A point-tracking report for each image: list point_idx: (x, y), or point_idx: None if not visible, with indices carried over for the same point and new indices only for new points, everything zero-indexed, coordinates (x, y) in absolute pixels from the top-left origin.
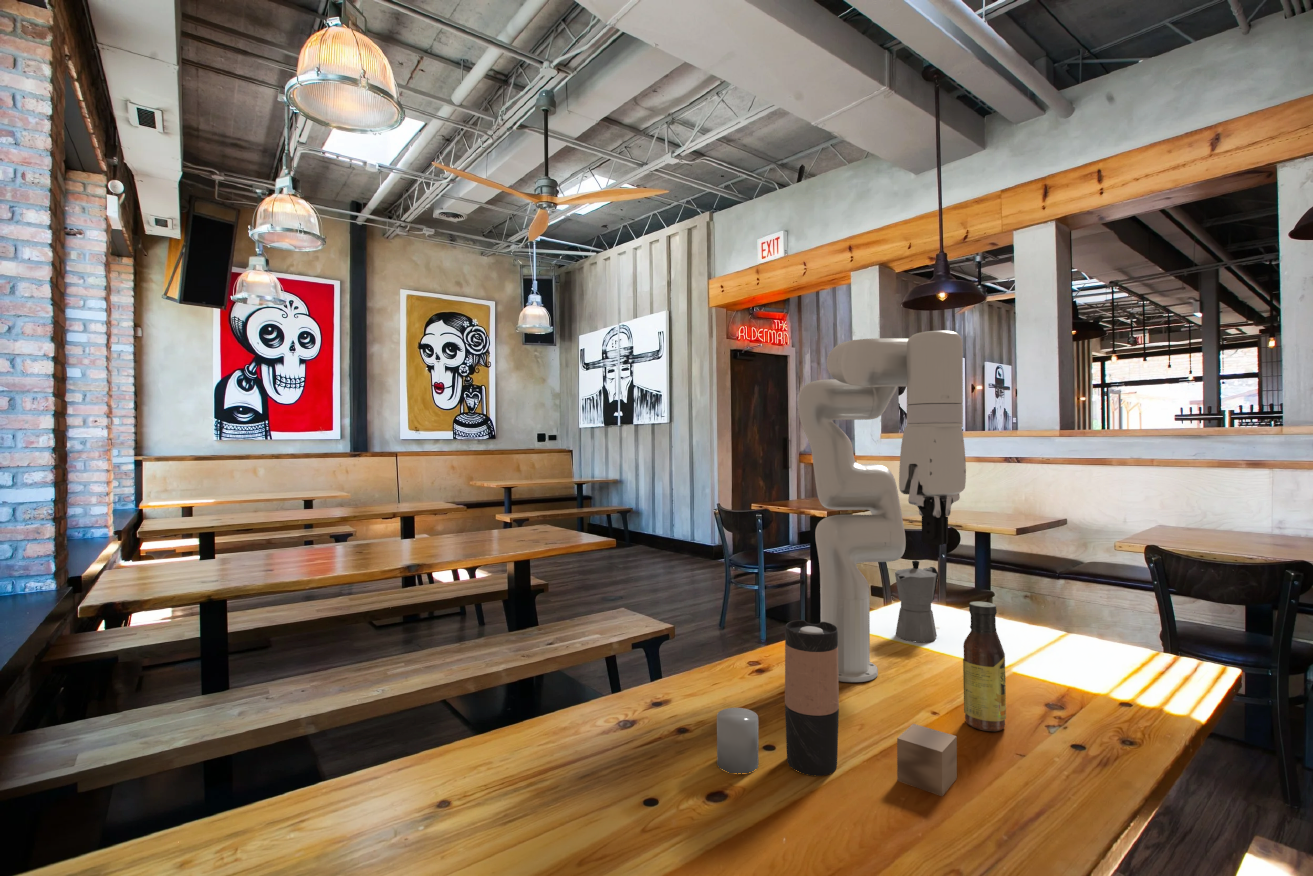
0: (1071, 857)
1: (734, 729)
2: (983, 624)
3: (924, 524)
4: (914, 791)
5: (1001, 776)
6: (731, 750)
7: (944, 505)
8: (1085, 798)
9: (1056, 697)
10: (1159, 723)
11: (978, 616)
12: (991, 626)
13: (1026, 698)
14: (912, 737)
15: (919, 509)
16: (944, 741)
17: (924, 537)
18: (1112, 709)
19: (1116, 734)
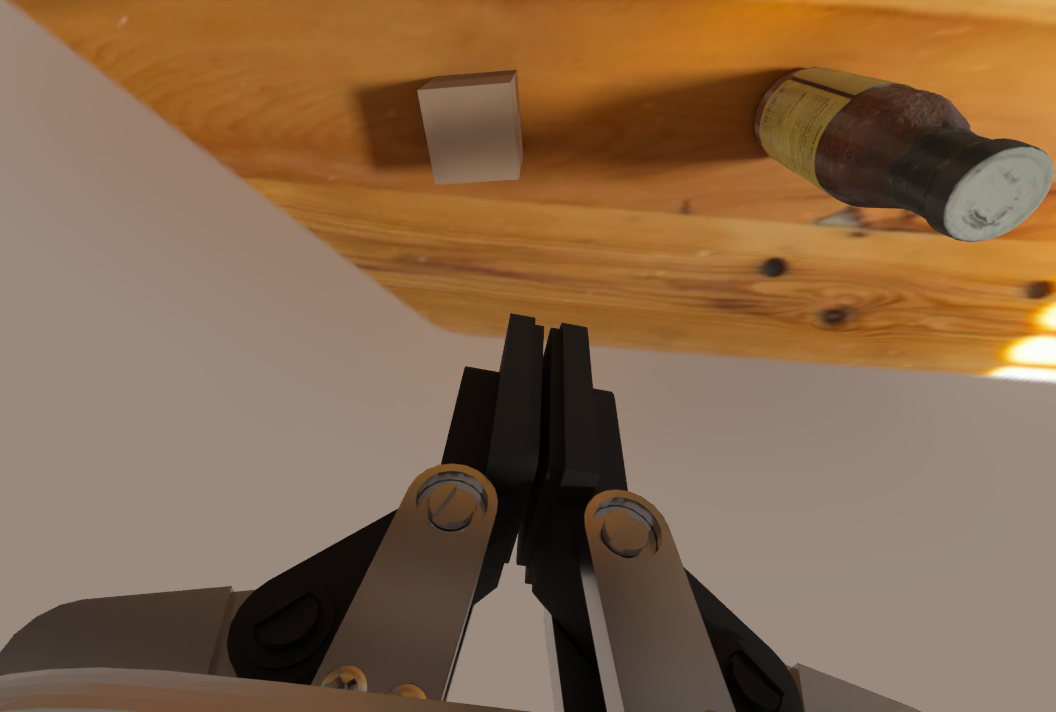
0: (444, 319)
1: None
2: (905, 192)
3: (449, 432)
4: None
5: (582, 208)
6: None
7: (552, 676)
8: (596, 306)
9: None
10: (948, 339)
11: (927, 183)
12: (910, 209)
13: (1018, 133)
14: (445, 114)
15: (339, 542)
16: (479, 170)
17: (505, 346)
18: (999, 278)
19: (863, 300)
